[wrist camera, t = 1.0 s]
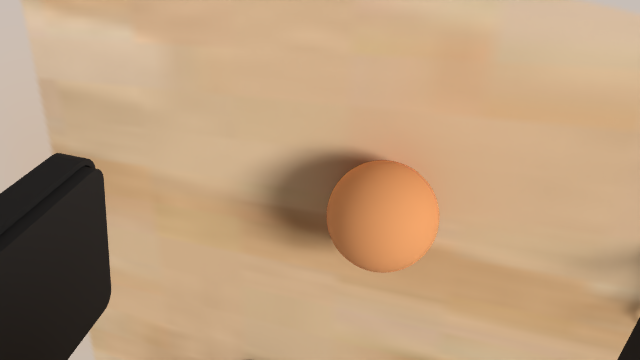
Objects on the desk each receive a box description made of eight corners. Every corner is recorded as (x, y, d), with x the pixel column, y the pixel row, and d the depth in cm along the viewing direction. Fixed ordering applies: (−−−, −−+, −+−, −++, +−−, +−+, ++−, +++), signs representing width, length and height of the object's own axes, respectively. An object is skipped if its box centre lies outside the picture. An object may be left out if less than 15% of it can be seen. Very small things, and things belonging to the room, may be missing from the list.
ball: (449, 153, 29) (452, 207, 24) (427, 242, 32) (425, 306, 27) (343, 133, 30) (324, 182, 25) (329, 222, 32) (310, 282, 27)
